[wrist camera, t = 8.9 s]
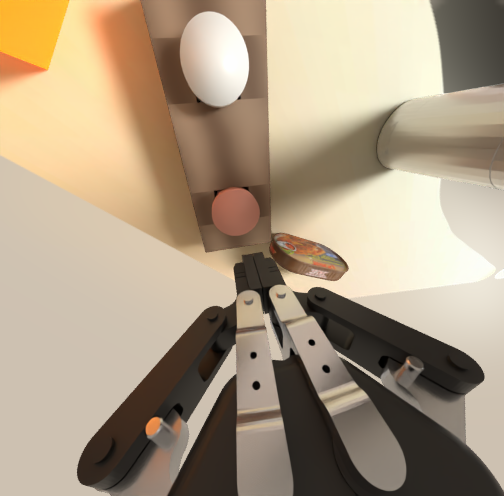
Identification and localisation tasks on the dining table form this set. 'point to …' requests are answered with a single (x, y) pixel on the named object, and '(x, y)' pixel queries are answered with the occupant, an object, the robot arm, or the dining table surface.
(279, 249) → the tin
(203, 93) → the white rounded piece
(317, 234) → the dining table surface
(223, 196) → the brick plunger
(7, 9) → the orange juice
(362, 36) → the dining table surface
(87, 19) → the dining table surface
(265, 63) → the block
